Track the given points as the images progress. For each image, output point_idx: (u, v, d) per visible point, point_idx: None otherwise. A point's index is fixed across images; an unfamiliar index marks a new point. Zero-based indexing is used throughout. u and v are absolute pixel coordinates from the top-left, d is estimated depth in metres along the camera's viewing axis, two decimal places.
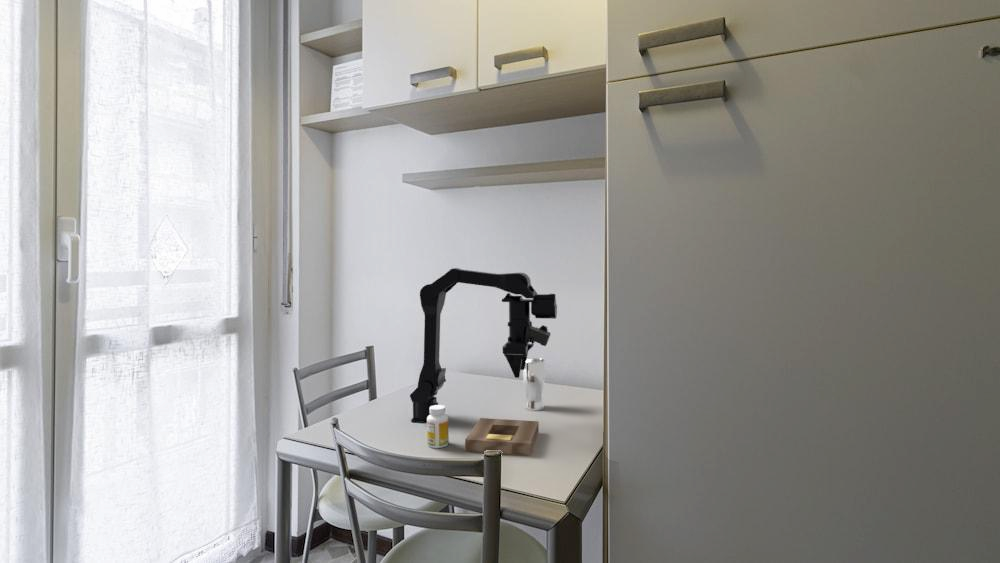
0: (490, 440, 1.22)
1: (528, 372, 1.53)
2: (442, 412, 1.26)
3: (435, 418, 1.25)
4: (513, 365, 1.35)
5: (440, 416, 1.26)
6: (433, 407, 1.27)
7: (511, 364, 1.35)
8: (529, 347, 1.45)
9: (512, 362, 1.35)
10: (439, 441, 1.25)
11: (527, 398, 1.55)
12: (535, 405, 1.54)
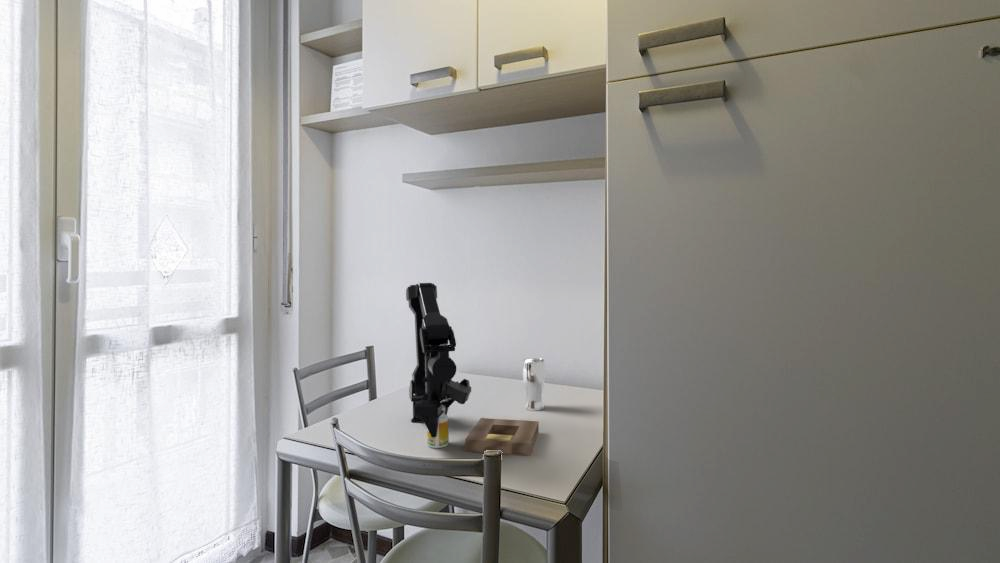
0: (490, 440, 1.22)
1: (528, 372, 1.53)
2: None
3: None
4: (429, 424, 1.23)
5: (440, 416, 1.26)
6: None
7: (427, 423, 1.23)
8: (449, 404, 1.30)
9: (428, 421, 1.23)
10: (439, 441, 1.25)
11: (527, 398, 1.55)
12: (535, 405, 1.54)
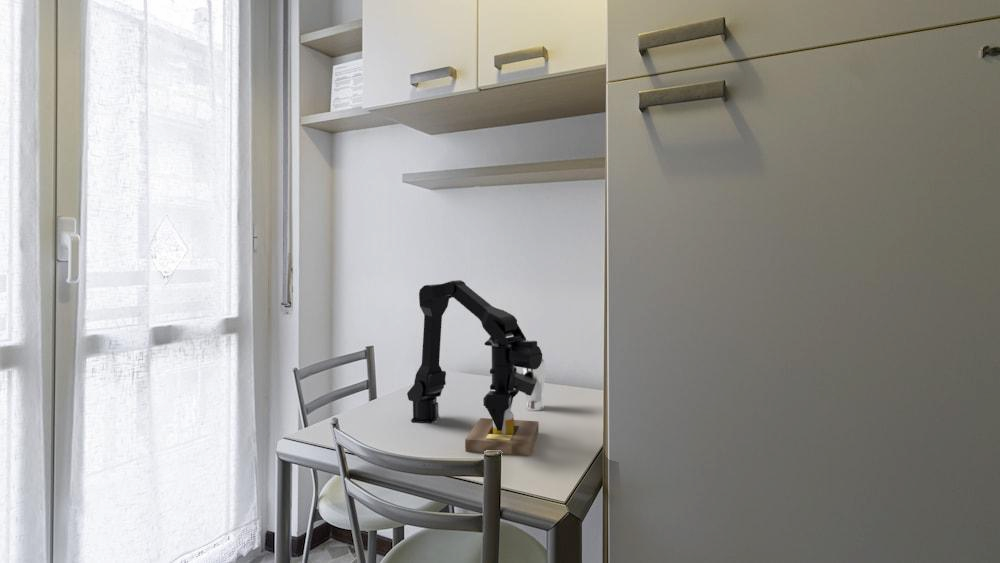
0: (490, 440, 1.22)
1: None
2: (508, 409, 1.28)
3: None
4: (495, 417, 1.23)
5: (506, 413, 1.27)
6: None
7: (493, 416, 1.23)
8: (514, 394, 1.33)
9: (494, 414, 1.23)
10: None
11: (527, 398, 1.55)
12: (535, 405, 1.54)
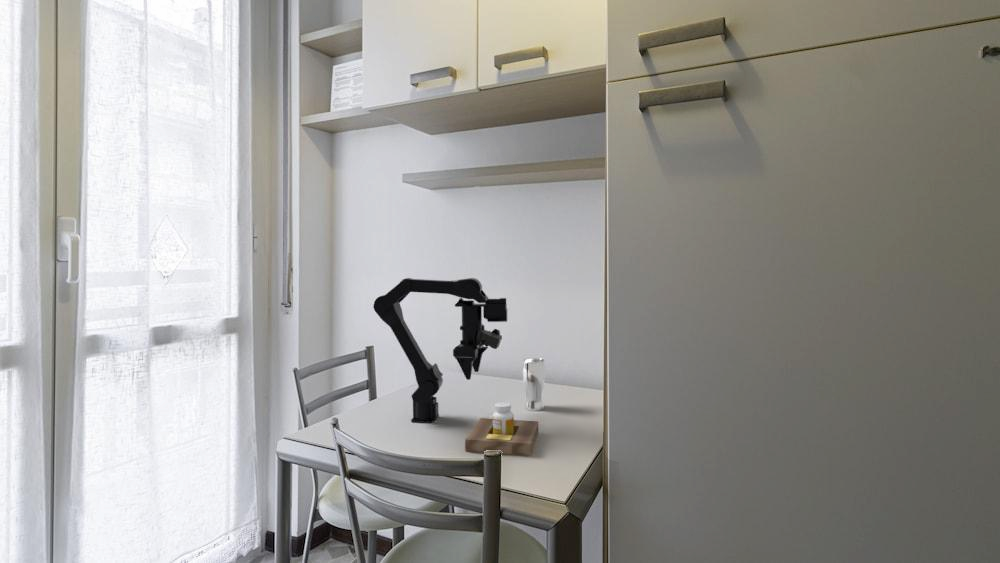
0: (490, 440, 1.22)
1: (528, 372, 1.53)
2: (508, 409, 1.28)
3: (502, 415, 1.27)
4: (464, 367, 1.40)
5: (506, 413, 1.27)
6: (499, 404, 1.29)
7: (462, 366, 1.40)
8: (483, 350, 1.50)
9: (463, 364, 1.40)
10: None
11: (527, 398, 1.55)
12: (535, 405, 1.54)
